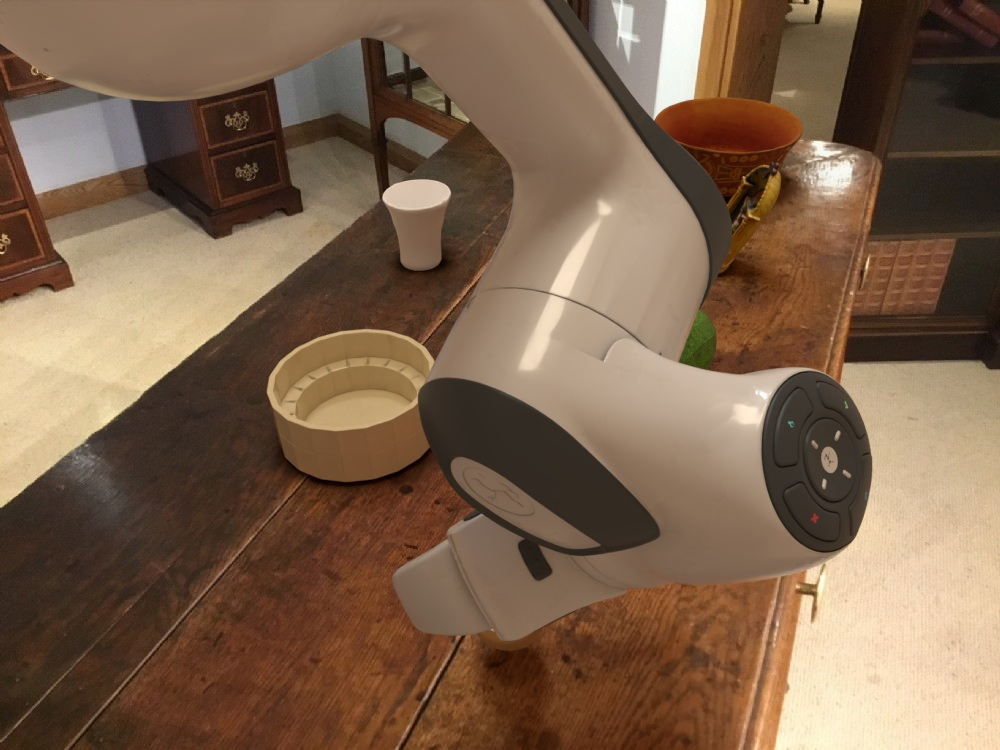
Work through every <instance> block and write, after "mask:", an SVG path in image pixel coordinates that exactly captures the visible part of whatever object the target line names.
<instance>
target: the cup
mask: <svg viewBox="0 0 1000 750" xmlns="http://www.w3.org/2000/svg"><path fill="white" fill-rule="evenodd" d="M451 197H452V191H451V188H450V187H449V186H448V185H446V183H443V182H441V181H437V180H433V179H410V180H405V181H400V182H397V183H394V184H393V185H391V186H390V187H388V188H386V190H385V191H384V192H383V193H382V202H383V203H384V205H385V207H386V208H387V210H388V212H389V214H390V216H391V220H392V224H393V226H394V229H395V232H396V237H397V240H398V241H397V242H398V246H399V247H398V248H399V254H400V256H399V259H400V260H399V261H400V263H401V264H402V266H403V267H404V268H405V269H407V270H410V271H415V272H416V271H417V272H421V271H422V272H423V271H429V270H432V269H434V268H436V267H439V265H440V263H441V261H442V259H443V258H442V231H443V230H442V229H443V225H444V222H445V221H444V220H445V215H446V211H447V208H448V205H449V204H450V201H451Z"/></svg>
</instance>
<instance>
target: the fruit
mask: <svg viewBox="0 0 1000 750" xmlns="http://www.w3.org/2000/svg"><path fill="white" fill-rule="evenodd" d="M716 350H717V329H716V327H715V326H714V323H713V321H712V320H711V318H710V317H709V316H708V314H707V313H706V312H705V311H704V310H703V309H702V307H701V308H700V310H699V311H698V313H697V315H696V318H695V320H694V323H693V326H692V328H691V331H690V333H689V336H688V339H687V341H686V344H685V347H684V349H683V352H682V354H681V357H680V360H679V363H682V364H685V365H689V366H692V367H696V368H700V369H704V370H710V367H711V364H712V362H713V359H714V357H715V353H716Z"/></svg>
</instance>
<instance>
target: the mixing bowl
mask: <svg viewBox="0 0 1000 750" xmlns="http://www.w3.org/2000/svg"><path fill="white" fill-rule="evenodd" d="M434 362H435V359H434V358H433V355H431V353H430V352H429V351H428V349H427V348H426V346H424V345H422V343H419V342H418V341H416V340H415V339H413V338H412V337H410V336H408V335H404V334H401V333H398V332H394V331H390V330H384V329H374V328H373V329H371V328H363V329H360V328H359V329H352V330H351V329H350V330H341V331H337V332H334V333H329V334H326V335H322V336H318V337H316V338H314V339H312V340H310V341H308V342H306V343H304V344H303V343H302V344H301V345H299V346H297V347H296V348H294V349H293V350H292V351H291V352H289V353H287V355H285V356H284V357H283V358H282V359H280V361H278V363H277V364H276V366H275V367H274V368H273V370H272V371H271V373H270V375H269V376H268V381H267V388H266V396H267V400H268V404H269V407H270V411H271V415H272V418H273V423H274V427H275V431H276V435H277V439H278V441H279V446H280V448H281V451H282V453H283V456H284V458H285V459H286V460H287V461H288V462H289V463H290V464H292V465H293V466H294V467H295V468H296V469H297V470H298V471H300V472H302V473H304V474H307V475H309V476H311V477H314V478H317V479H320V480H324V481H325V480H326V481H332V482H333V481H334V482H341V483H351V482H360V481H369V480H376V479H378V478H382V477H385V476H388V475H392V474H394V473H397V472H399V471H401V470H403V469H405V468H406V467H408V466H409V465H411V464H413V463H414V462H416V461H418V460H420V458H421V457H422V456H423V455H424V454H425V453H427V451H428V450H429V449H431V448H430V446H429V444H428V441H427V439H426V436H425V433H424V431H423V427H422V424H421V420H420V415H419V409H418V393H419V390H420V388H421V387H422V386H423V385H424V383H425V380H426V378H427V376H428V374H429V372H430V370H431V368H432V366H433V364H434Z"/></svg>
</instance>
